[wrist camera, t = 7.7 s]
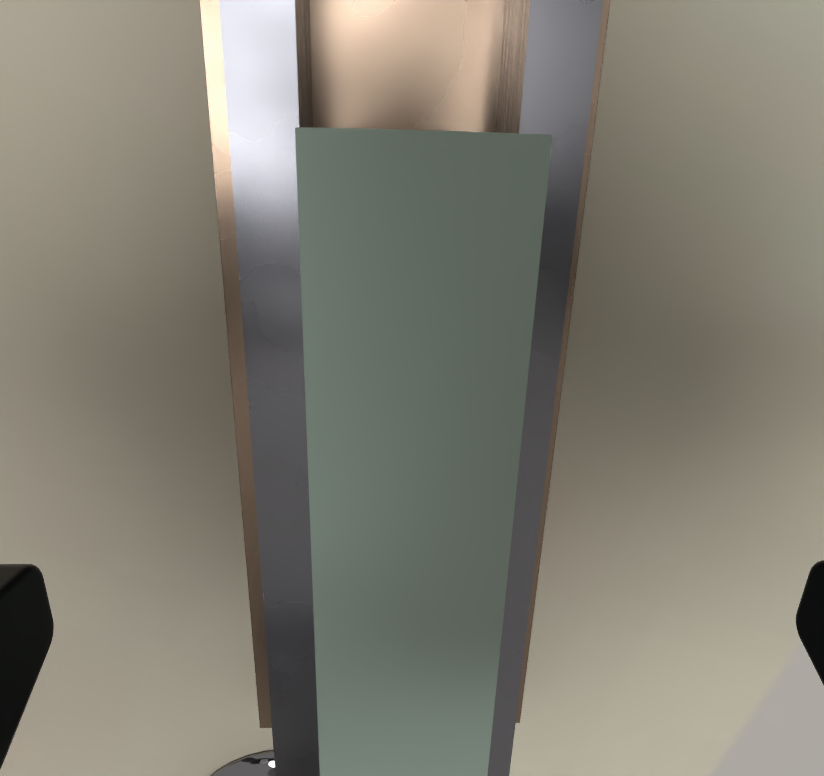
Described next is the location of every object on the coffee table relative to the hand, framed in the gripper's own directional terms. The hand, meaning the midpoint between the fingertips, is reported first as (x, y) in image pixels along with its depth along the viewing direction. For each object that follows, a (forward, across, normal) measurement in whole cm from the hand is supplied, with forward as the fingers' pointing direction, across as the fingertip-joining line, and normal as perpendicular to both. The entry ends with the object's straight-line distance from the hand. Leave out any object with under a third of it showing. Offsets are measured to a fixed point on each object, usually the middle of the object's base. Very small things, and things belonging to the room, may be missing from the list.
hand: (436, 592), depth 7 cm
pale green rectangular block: (+8, 0, 0) cm, 8 cm away
